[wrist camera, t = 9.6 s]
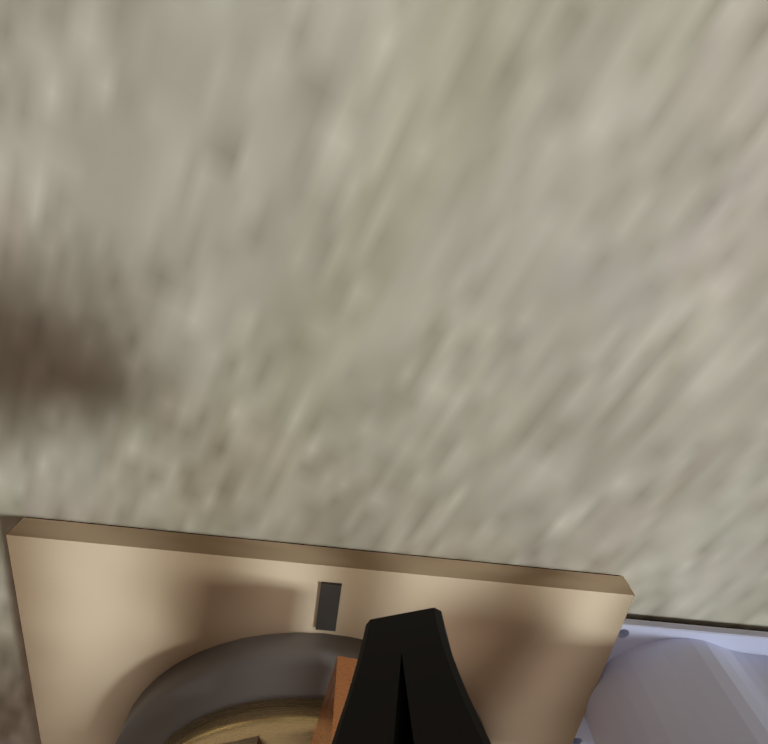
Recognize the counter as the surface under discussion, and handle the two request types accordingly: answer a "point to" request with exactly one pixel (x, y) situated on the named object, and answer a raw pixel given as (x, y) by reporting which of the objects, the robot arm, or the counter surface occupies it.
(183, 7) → the counter surface
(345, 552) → the nut base
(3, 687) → the counter surface
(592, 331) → the counter surface
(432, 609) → the robot arm
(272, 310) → the counter surface
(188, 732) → the studded brass disc
